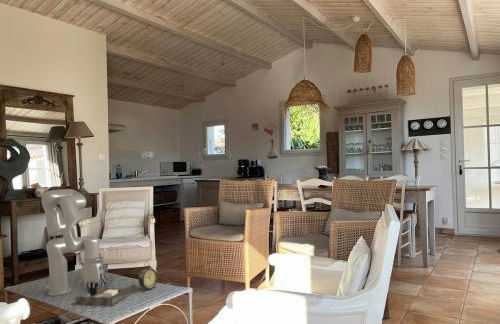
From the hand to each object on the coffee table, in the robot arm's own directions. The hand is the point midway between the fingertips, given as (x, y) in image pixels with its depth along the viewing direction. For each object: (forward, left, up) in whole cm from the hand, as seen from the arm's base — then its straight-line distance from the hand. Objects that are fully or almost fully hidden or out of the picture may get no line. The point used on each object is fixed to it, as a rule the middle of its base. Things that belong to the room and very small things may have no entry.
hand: (93, 294), depth 207 cm
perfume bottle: (-26, +38, -3) cm, 47 cm away
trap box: (+5, +4, -3) cm, 7 cm away
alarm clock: (+21, +20, -3) cm, 29 cm away
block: (+12, -2, -1) cm, 12 cm away
